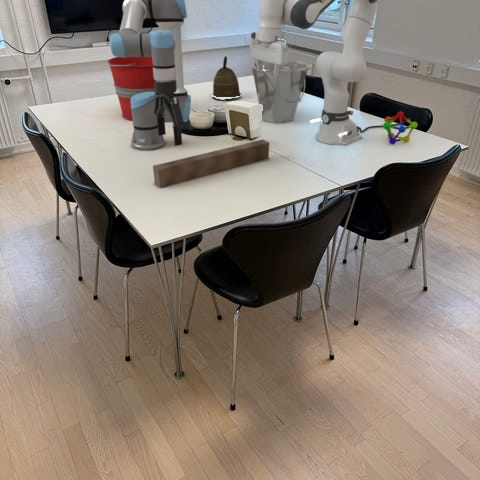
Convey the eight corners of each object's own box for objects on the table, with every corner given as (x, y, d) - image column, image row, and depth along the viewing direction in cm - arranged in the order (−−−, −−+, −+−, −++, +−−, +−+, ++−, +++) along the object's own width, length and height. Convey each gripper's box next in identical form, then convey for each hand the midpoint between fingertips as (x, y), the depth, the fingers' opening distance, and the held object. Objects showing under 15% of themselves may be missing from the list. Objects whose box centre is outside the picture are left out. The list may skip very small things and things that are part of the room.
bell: (227, 105, 294) (202, 96, 282) (238, 66, 289) (213, 55, 277) (243, 108, 280) (217, 98, 268) (255, 66, 275) (229, 55, 263)
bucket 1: (122, 105, 263) (114, 51, 248) (180, 106, 263) (177, 52, 247) (105, 123, 234) (95, 63, 218) (171, 124, 233) (166, 64, 217)
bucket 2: (277, 130, 226) (280, 73, 211) (239, 117, 245) (239, 64, 230) (315, 118, 243) (320, 65, 228) (277, 107, 261) (279, 57, 247)
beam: (160, 187, 167) (158, 169, 163) (154, 183, 170) (152, 165, 167) (268, 158, 193) (269, 142, 189) (262, 155, 196) (262, 139, 192)
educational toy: (377, 146, 209) (379, 114, 202) (384, 138, 219) (386, 107, 211) (411, 149, 202) (415, 116, 195) (417, 141, 212) (420, 109, 204)
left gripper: (192, 85, 145) (195, 147, 156) (159, 72, 163) (164, 129, 174) (171, 88, 142) (176, 151, 153) (140, 74, 159) (146, 132, 170)
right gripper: (293, 38, 163) (290, 77, 170) (260, 32, 177) (258, 68, 184) (280, 39, 160) (277, 79, 167) (247, 33, 174) (246, 70, 181)
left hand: (170, 139), depth 163 cm, fingers open, 13 cm apart
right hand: (267, 73), depth 176 cm, fingers open, 8 cm apart
